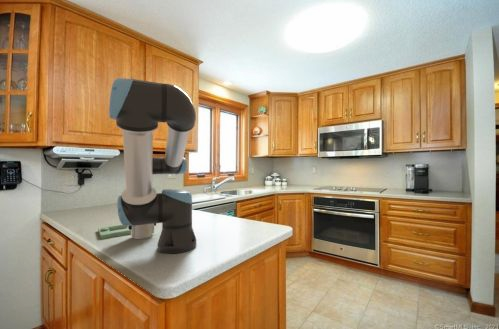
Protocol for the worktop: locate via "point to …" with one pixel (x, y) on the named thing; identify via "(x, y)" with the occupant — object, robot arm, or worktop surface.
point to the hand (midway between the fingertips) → (142, 234)
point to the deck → (106, 233)
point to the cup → (142, 231)
